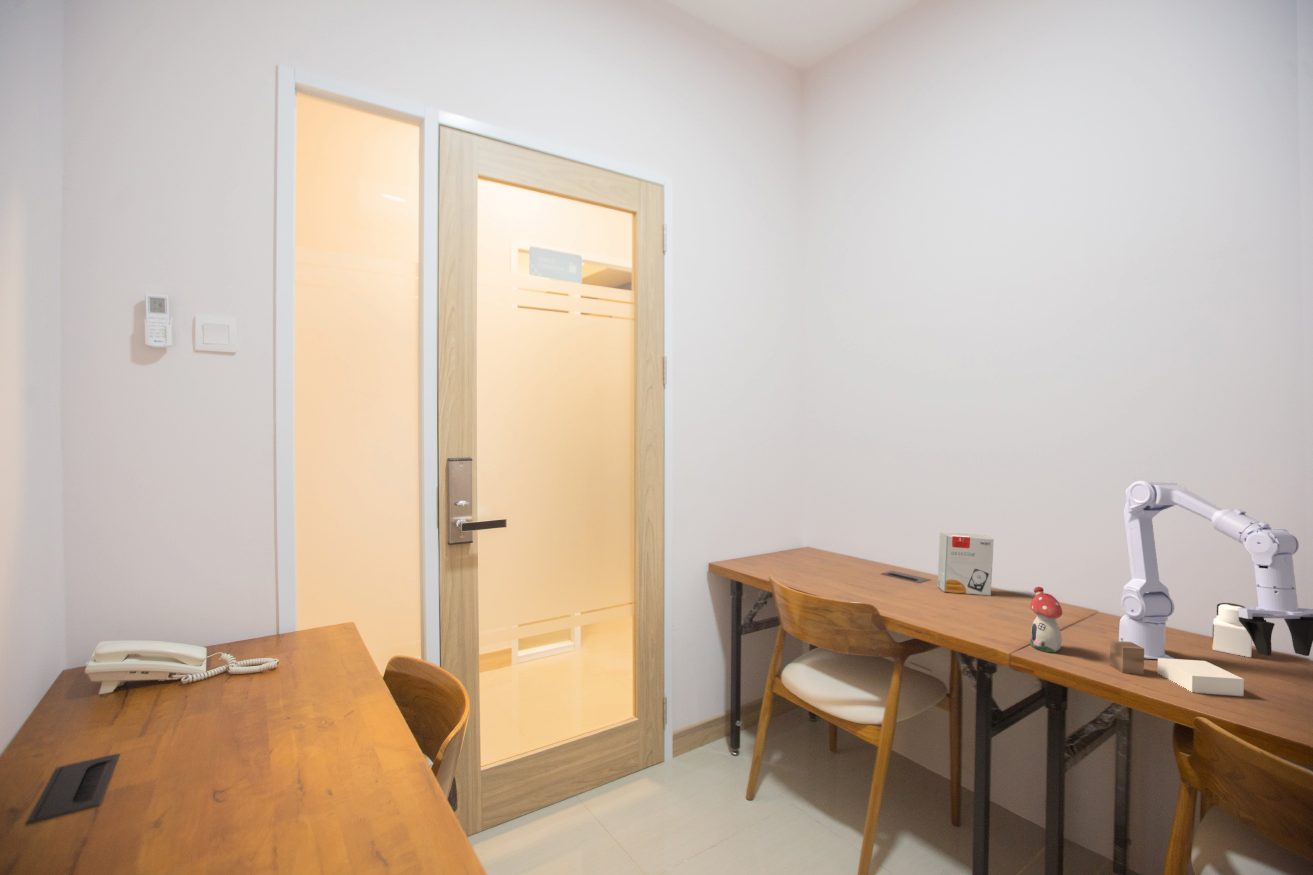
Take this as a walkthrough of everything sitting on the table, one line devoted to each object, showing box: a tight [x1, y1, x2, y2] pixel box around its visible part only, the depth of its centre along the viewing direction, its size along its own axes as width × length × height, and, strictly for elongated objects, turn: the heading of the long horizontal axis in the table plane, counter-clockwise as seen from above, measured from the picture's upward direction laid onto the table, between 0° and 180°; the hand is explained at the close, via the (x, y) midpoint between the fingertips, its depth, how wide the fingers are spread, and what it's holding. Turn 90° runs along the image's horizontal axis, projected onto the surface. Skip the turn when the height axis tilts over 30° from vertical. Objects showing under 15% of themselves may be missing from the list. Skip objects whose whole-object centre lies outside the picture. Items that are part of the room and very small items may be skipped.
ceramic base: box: [1156, 658, 1245, 697], centre depth 129 cm, size 10×10×4 cm
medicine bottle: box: [1211, 602, 1253, 658], centre depth 151 cm, size 7×7×12 cm
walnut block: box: [1109, 640, 1145, 675], centre depth 136 cm, size 4×4×6 cm
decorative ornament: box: [1029, 586, 1063, 653], centre depth 150 cm, size 9×6×15 cm
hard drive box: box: [937, 531, 995, 597], centre depth 203 cm, size 16×8×20 cm, turn 81°
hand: (1283, 654), depth 119 cm, fingers open, 7 cm apart
